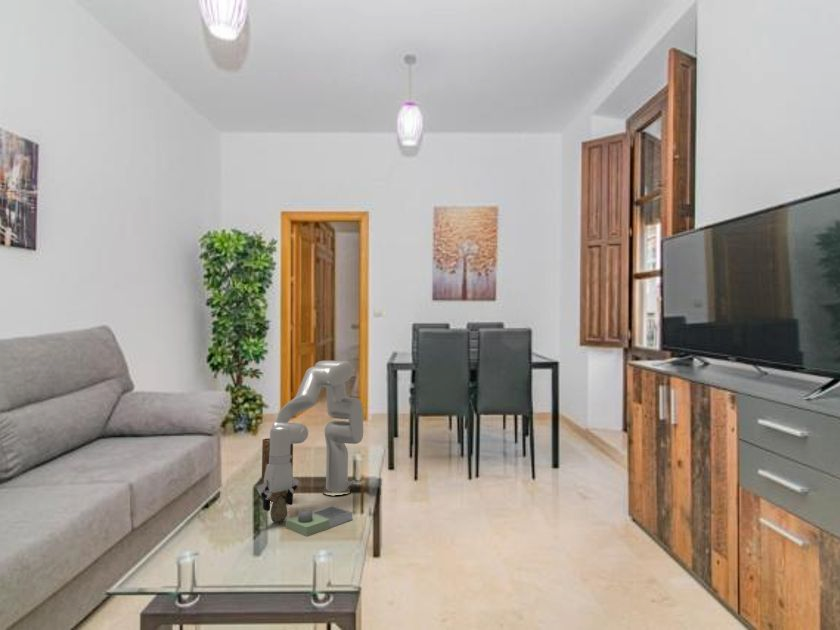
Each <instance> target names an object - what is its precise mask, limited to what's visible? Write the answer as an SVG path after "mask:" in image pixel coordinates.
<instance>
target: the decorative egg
mask: <svg viewBox="0 0 840 630" xmlns="http://www.w3.org/2000/svg"><path fill="white" fill-rule="evenodd" d="M287 515H288V507H287V504H286V503H285V500H284V498H283V497H282V496H277V497H276V498H275V500H274V501H273V504H272V503H271V506H270V519H271V521H272V522H273V523H274V524H277V525H281V524H282V523H283V522H284V523H285V521H286V519H287V517H288V516H287Z"/></svg>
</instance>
